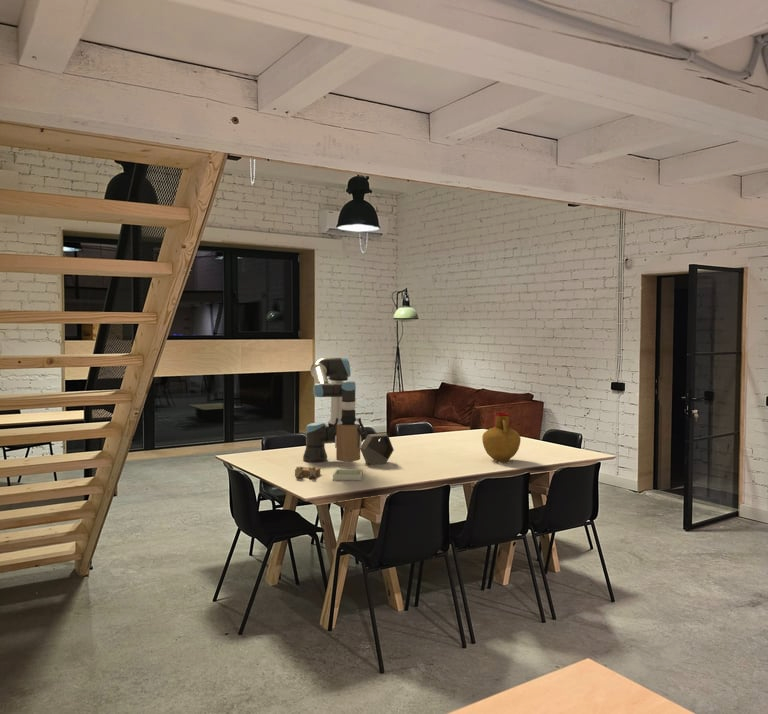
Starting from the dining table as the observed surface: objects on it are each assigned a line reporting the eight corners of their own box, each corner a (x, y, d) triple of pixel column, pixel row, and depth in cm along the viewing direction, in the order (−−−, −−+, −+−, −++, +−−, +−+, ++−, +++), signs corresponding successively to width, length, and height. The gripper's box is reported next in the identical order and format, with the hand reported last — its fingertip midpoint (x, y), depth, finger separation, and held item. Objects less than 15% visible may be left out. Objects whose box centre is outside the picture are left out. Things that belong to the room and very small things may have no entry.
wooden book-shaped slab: (300, 473, 377) (300, 466, 377) (320, 475, 374) (320, 468, 374) (295, 476, 370) (295, 469, 369) (315, 478, 366) (315, 470, 366)
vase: (524, 464, 408) (525, 415, 407) (486, 464, 407) (487, 415, 405) (514, 457, 432) (515, 411, 431) (478, 457, 430) (479, 411, 429)
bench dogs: (296, 477, 366) (296, 466, 366) (315, 477, 366) (315, 466, 365) (295, 478, 362) (295, 467, 362) (314, 479, 362) (315, 468, 362)
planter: (359, 457, 399) (377, 428, 403) (355, 455, 406) (372, 426, 410) (381, 471, 405) (398, 442, 409) (376, 469, 412) (393, 440, 416)
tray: (335, 474, 374) (335, 469, 374) (362, 474, 374) (362, 469, 373) (332, 480, 359) (332, 474, 359) (360, 480, 358) (360, 475, 358)
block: (346, 458, 373) (346, 422, 372) (360, 460, 367) (361, 424, 367) (335, 460, 365) (335, 424, 364) (350, 462, 359) (350, 426, 358)
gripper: (325, 409, 361) (324, 448, 362) (370, 410, 361) (370, 449, 361) (326, 408, 369) (326, 446, 370) (371, 408, 368) (371, 446, 369)
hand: (348, 447), depth 366 cm, fingers closed on block, 13 cm apart
